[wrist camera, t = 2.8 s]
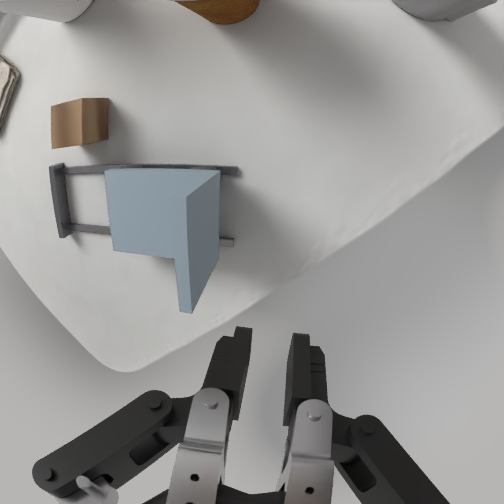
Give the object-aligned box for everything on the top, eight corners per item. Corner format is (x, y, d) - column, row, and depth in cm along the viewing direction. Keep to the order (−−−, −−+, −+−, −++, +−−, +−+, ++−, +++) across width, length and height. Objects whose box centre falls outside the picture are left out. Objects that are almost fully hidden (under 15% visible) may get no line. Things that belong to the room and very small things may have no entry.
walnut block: (108, 98, 26) (81, 98, 21) (108, 139, 28) (82, 144, 24) (78, 104, 26) (51, 106, 22) (78, 142, 28) (51, 149, 24)
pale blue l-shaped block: (225, 166, 27) (186, 196, 17) (223, 248, 31) (191, 313, 21) (122, 164, 28) (51, 193, 18) (128, 237, 32) (72, 289, 22)
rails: (237, 160, 28) (233, 163, 26) (233, 250, 32) (230, 258, 30) (58, 163, 30) (48, 166, 28) (67, 232, 34) (59, 237, 32)
